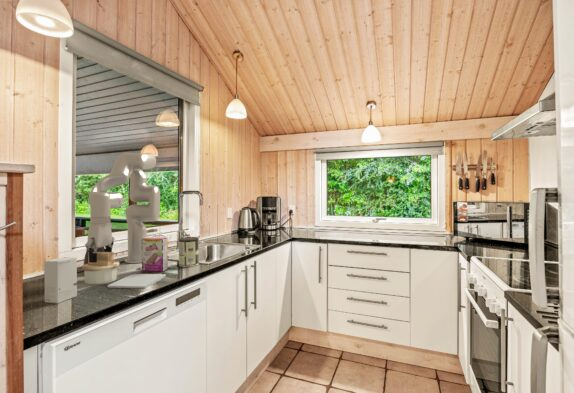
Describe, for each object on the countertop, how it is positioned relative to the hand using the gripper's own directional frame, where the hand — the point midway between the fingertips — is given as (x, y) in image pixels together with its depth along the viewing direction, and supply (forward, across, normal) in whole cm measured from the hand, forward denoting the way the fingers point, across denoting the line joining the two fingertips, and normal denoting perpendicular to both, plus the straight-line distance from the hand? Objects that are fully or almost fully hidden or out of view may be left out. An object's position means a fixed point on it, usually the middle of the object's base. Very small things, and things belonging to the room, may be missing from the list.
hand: (100, 259), depth 135 cm
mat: (+9, 0, +17) cm, 19 cm away
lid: (+4, 0, 0) cm, 4 cm away
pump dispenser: (+9, -13, -12) cm, 20 cm away
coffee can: (+9, -31, +27) cm, 42 cm away
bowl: (+9, 0, 0) cm, 9 cm away
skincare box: (+10, +23, +1) cm, 25 cm away
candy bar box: (+9, -18, +15) cm, 25 cm away
